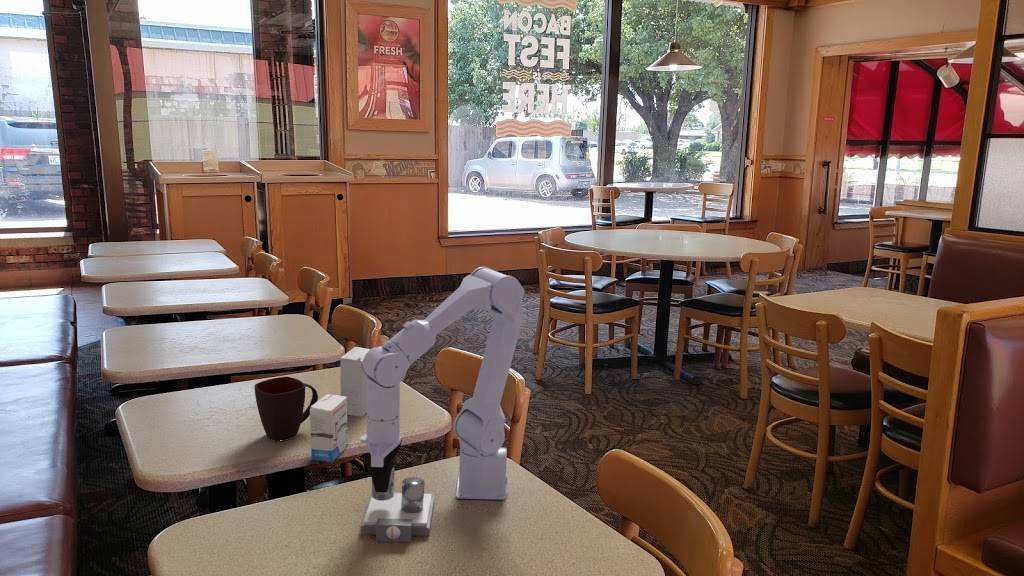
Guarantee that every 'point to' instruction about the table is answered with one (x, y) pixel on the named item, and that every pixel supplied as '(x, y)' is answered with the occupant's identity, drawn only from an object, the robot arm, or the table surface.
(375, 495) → the cylinder
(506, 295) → the robot arm
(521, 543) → the table surface
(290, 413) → the cup
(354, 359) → the skincare box
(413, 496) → the cylinder
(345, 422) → the ink box
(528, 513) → the table surface
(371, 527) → the scale
